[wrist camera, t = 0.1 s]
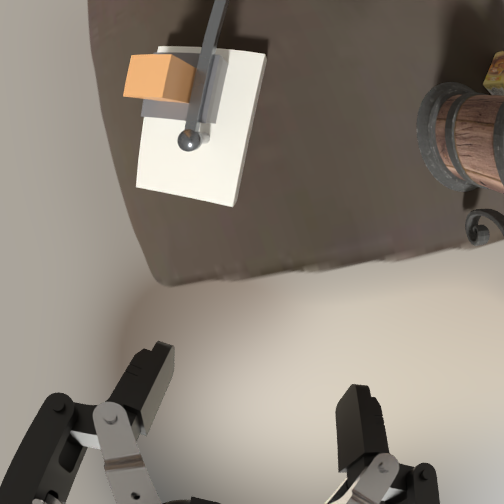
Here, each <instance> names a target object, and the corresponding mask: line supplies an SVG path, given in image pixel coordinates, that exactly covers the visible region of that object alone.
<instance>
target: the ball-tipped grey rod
mask: <svg viewBox="0 0 504 504" xmlns="http://www.w3.org/2000/svg"><path fill="white" fill-rule="evenodd" d="M228 4H229V1H228V0H215V2H214V5H213V8H212V12H211V15H210V19H209V22H208V26H207V29H206V33H205V37H204V41H203V45H202V49H201V53H200V57H199V61H198V65H197V69H196V74H195V78H194V83H193V88H192V92H191V97H190V102H189V108H188V113H187V118H186V124H185V130H184V131H182V132H181V133H180V134H179V136H178V140H177V142H178V146H179V147H180V148H181V149H182V150H183V151H186V152H190V151H194V150H197V149H198V148H199V147H200V146H201V144H202V140H203V139H202V135H201V133H200V132H199V127H200V122H201V117H202V111H203V106H204V101H205V97H206V92H207V87H208V82H209V78H210V73H211V69H212V65H213V61H214V56H215V52H216V48H217V44H218V40H219V36H220V33H221V29H222V25H223V22H224V18H225V14H226V11H227V8H228Z"/></svg>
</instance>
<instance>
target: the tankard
mask: <svg viewBox="0 0 504 504" xmlns="http://www.w3.org/2000/svg"><path fill="white" fill-rule="evenodd" d="M417 139H418V144H419V149H420V152H421V155H422V158H423V160H424V162H425V164H426V166H427V168H428V169H429V171H430V172H431V173H432V175H433V176H434V177H435V178H436V179H437V180H438V181H439V182H440V183H441V184H443V185H444V186H446V187H447V188H449V189H452V190H455V191H462V192H465V191H471V190H473V189H476V188H478V187H481V188H487V189H489V188H490V189H493V190H495V191H498V192H500V193H503V194H504V96H499V95H486V94H483V93H476V92H475V91H474V90H472V89H471V88H469V87H467V86H465V85H463V84H460V83H456V82H445V83H442V84H439V85H437V86H435V87H434V88H432V89H431V90H430V91H429V92H428V93H427V94H426V96H425V97H424V99H423V101H422V103H421V106H420V109H419V112H418V118H417ZM481 216H485V217H487V218H489V219H490V220H492V221H493V222H494V223H495V224H496V225H497V226H498V228H499V229H500V230H501V232H502V234H503V236H504V215H502V214H501V213H499V212H498V211H495V210H492V209H476V210H473V211H471V212H470V213H469V214H468V216H467V218H466V223H465V230H466V234H467V237H468V239H469V241H470V242H471V244H473V245H475V246H477V245H484V244H486V243H487V242H488V240H489V230H488V228H487V227H486V226H484V225H478V221H479V218H480V217H481Z"/></svg>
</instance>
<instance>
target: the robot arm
mask: <svg viewBox="0 0 504 504" xmlns="http://www.w3.org/2000/svg"><path fill="white" fill-rule="evenodd" d="M174 350H175V349H174V346H173V345H169V344H166V343H163V342H160V341H158V342H157V343H156V344H155V346H154V348H153V349H152V351H150V350H147V349H143V350H141V351H140V352H138V353H137V354H135V355H134V357H133V359H132V360H131V362H130V365H129V366H128V367H127V369H126V371H125V372H124V374H123V376H122V377H121V379H120V381H119V382H118V384H117V386H116V387H115V389H114V391H113V393H112V394H111V396H110V398H109V399H108V400H107V401H105V402H104V403H101V404H99V405H86V404H80V403H75V402H73V401H72V399H71V398H70V397H69V396H68V395H66V394H64V393H53V394H51V395H49V396H48V397H47V398H46V400H45V401H44V403H43V405H42V406H41V408H40V410H39V411H38V414H37V415H36V417H35V418H34V420H33V422H32V424H31V426H30V427H29V429H28V431H27V433H26V435H25V436H24V438H23V440H22V442H21V444H20V446H19V448H18V450H17V452H16V454H15V456H14V458H13V460H12V462H11V464H10V466H9V468H8V470H7V473H6V475H5V477H4V479H3V481H2V484H1V486H0V504H65V502H66V500H67V497H68V495H69V492H70V489H71V487H72V484H73V482H74V479H75V477H76V474H77V472H78V469H79V467H80V464H81V462H82V460H83V457H84V455H85V452H86V450H87V448H88V447H92V448H98V449H101V452H102V455H103V459H104V469H105V473H106V476H107V479H108V482H109V485H110V488H111V490H112V493H113V496H114V498H115V501H116V503H117V504H162V502H161V500H160V498H159V496H158V494H157V492H156V490H155V488H154V485H153V483H152V481H151V479H150V477H149V474H148V472H147V469H146V467H145V464H144V462H143V460H142V457H141V454H140V451H139V449H138V446H137V444H136V441H137V439H138V437H139V435H140V434H142V435H145V436H147V434H148V432H149V430H150V427H151V425H152V422H153V420H154V418H155V415H156V413H157V411H158V408H159V406H160V404H161V401H162V399H163V397H164V394H165V392H166V390H167V388H168V385H169V383H170V381H171V378H172V375H173V372H174ZM382 416H383V415H382V410H381V406H380V404H379V403H378V401H377V399H376V398H375V397H371V394H370V389H369V387H368V386H365V385H356V384H352V385H351V386H350V387H349V389H348V390H347V391H346V393H345V394H344V395H343V397H342V398H341V399H340V401H339V402H338V404H337V407H336V428H337V444H338V468H339V472H347V478H346V479H344V481H343V482H342V483H341V484H340V486H339V487H338V488H337V489H336V491H335V492H334V493H333V494H332V495H331V496H330V497H329V499H328V500H327V501H326V502H325V503H324V504H440V501H439V491H438V483H437V476H436V471H435V469H434V467H433V466H432V465H430V464H428V463H421V464H419V465H417V466H416V467H412V466H407V465H403V464H400V463H398V460H397V459H396V458H395V457H394V456H393V455H391V454H390V453H389V448H388V443H387V436H386V431H385V426H384V420H383V417H382ZM163 504H220V503H217V502H213V501H208V500H204V499H199V498H195V497H191V500H174V501H169V502H166V503H163Z"/></svg>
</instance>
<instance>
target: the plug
mask: <svg viewBox="0 0 504 504" xmlns="http://www.w3.org/2000/svg"><path fill="white" fill-rule="evenodd" d="M199 57H200V53H178V52H155V53H153V54H148V55H132V56H131V60H130V65H129V69H128V74H127V79H126V84H125V89H124V95H123V96H125V97H134V98H142V99H144V101H143V106H142V113H141V117H153V118H164V119H174V120H183V121H186V118H187V113H188V108H189V102H190V97H191V92H192V88H193V83H194V78H195V74H196V69H197V65H198V61H199ZM222 62H223V57H222V56H221V55H216V54H215V56H214V61H213V65H212V69H211V73H210V78H209V82H208V87H207V92H206V97H205V101H204V106H203V111H202V117H201V122H200V123H206V124H209V123H210V118H211V113H212V108H213V103H214V98H215V93H216V89H217V84H218V80H219V75H220V71H221V66H222Z"/></svg>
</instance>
